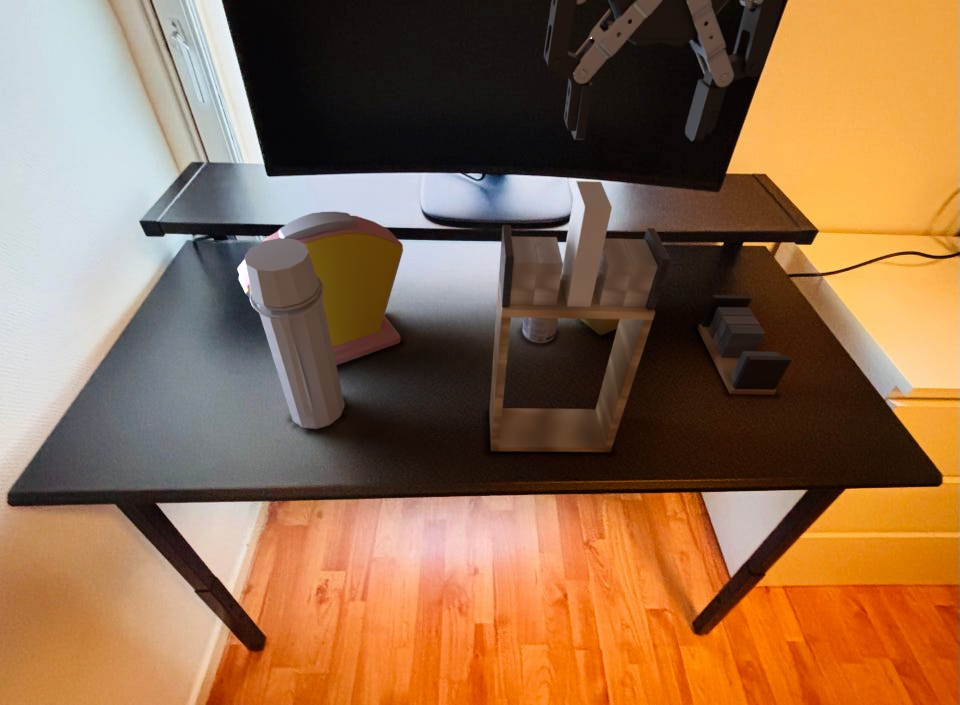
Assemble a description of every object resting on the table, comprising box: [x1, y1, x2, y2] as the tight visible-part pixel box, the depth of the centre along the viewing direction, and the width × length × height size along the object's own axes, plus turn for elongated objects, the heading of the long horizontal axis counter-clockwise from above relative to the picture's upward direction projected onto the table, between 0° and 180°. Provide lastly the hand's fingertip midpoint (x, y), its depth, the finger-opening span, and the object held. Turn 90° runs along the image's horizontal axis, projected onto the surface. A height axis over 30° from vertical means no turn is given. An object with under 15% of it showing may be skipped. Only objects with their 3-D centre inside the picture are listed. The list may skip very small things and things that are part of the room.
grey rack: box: [697, 294, 793, 396], centre depth 81 cm, size 15×7×7 cm, turn 1°
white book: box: [561, 180, 613, 307], centre depth 52 cm, size 2×5×11 cm, turn 1°
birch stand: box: [489, 280, 654, 453], centre depth 64 cm, size 16×7×22 cm, turn 91°
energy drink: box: [522, 318, 559, 344], centre depth 83 cm, size 5×5×12 cm
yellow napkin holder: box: [237, 211, 404, 366], centre depth 76 cm, size 22×9×22 cm, turn 122°
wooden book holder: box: [498, 224, 671, 320], centre depth 54 cm, size 16×7×7 cm, turn 91°
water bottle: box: [243, 238, 345, 430], centre depth 64 cm, size 9×8×25 cm
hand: (635, 137), depth 39 cm, fingers open, 8 cm apart
